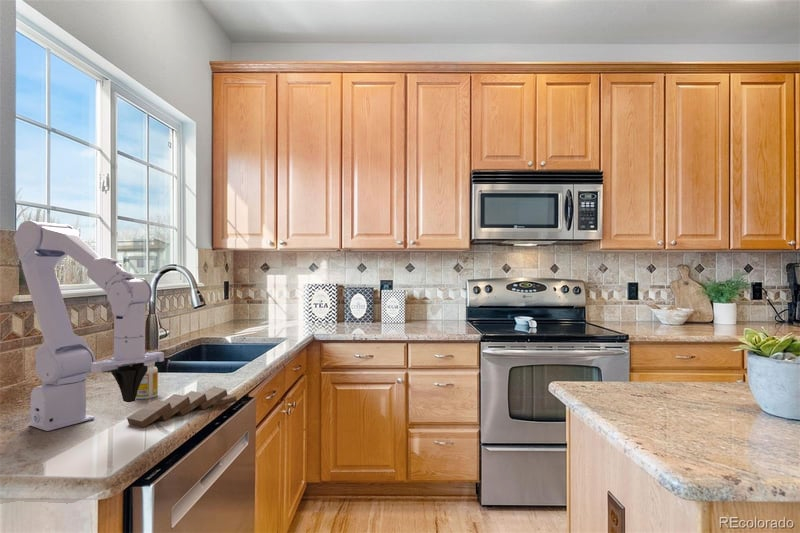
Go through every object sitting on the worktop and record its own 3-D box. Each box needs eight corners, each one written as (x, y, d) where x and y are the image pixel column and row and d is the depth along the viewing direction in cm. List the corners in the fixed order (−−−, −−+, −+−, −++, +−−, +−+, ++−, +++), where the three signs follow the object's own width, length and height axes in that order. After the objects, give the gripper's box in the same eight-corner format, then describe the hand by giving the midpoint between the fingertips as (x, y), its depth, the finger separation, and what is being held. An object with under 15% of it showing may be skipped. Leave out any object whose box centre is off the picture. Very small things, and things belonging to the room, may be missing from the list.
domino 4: (201, 404, 112) (226, 389, 118) (189, 400, 115) (213, 386, 121) (203, 410, 113) (227, 395, 118) (190, 406, 116) (215, 391, 121)
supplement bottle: (152, 392, 128) (152, 356, 128) (161, 396, 125) (161, 359, 125) (130, 397, 124) (130, 359, 124) (139, 400, 121) (139, 362, 121)
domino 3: (180, 410, 108) (205, 393, 114) (166, 406, 110) (191, 390, 116) (182, 416, 108) (206, 399, 114) (168, 412, 111) (192, 396, 117)
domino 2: (162, 415, 104) (188, 396, 110) (148, 411, 107) (174, 393, 112) (164, 421, 105) (190, 402, 110) (150, 417, 107) (176, 399, 113)
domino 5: (213, 402, 116) (236, 396, 122) (199, 400, 118) (222, 393, 124) (213, 409, 116) (236, 402, 122) (199, 406, 118) (222, 399, 124)
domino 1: (141, 421, 100) (169, 402, 106) (126, 417, 102) (155, 399, 108) (143, 427, 100) (171, 408, 106) (129, 424, 103) (157, 405, 108)
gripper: (105, 342, 92) (104, 413, 92) (173, 333, 105) (172, 395, 105) (85, 339, 95) (84, 407, 95) (152, 331, 108) (152, 391, 108)
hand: (129, 401), depth 100 cm, fingers closed
